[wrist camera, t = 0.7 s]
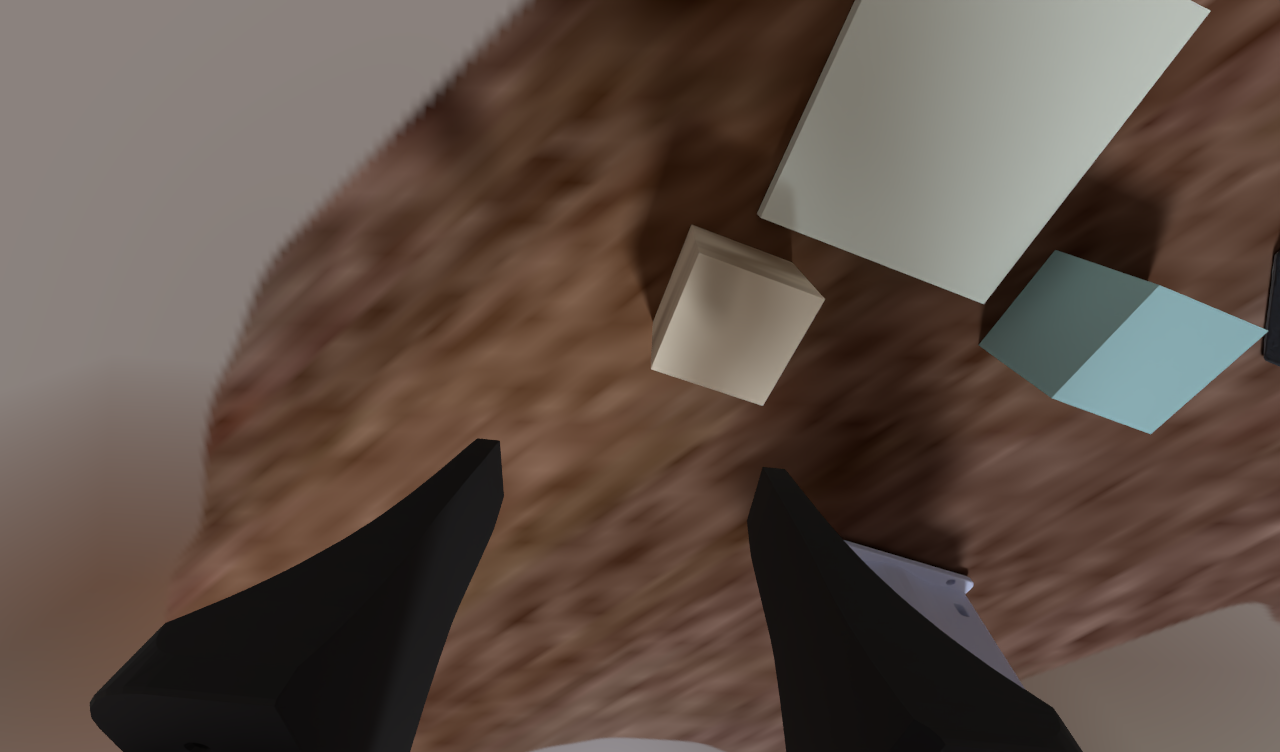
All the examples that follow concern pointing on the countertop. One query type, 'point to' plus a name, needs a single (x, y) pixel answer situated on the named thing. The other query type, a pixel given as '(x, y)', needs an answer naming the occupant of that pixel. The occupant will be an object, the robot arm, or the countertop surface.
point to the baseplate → (965, 126)
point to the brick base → (731, 316)
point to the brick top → (1115, 341)
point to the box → (1273, 317)
